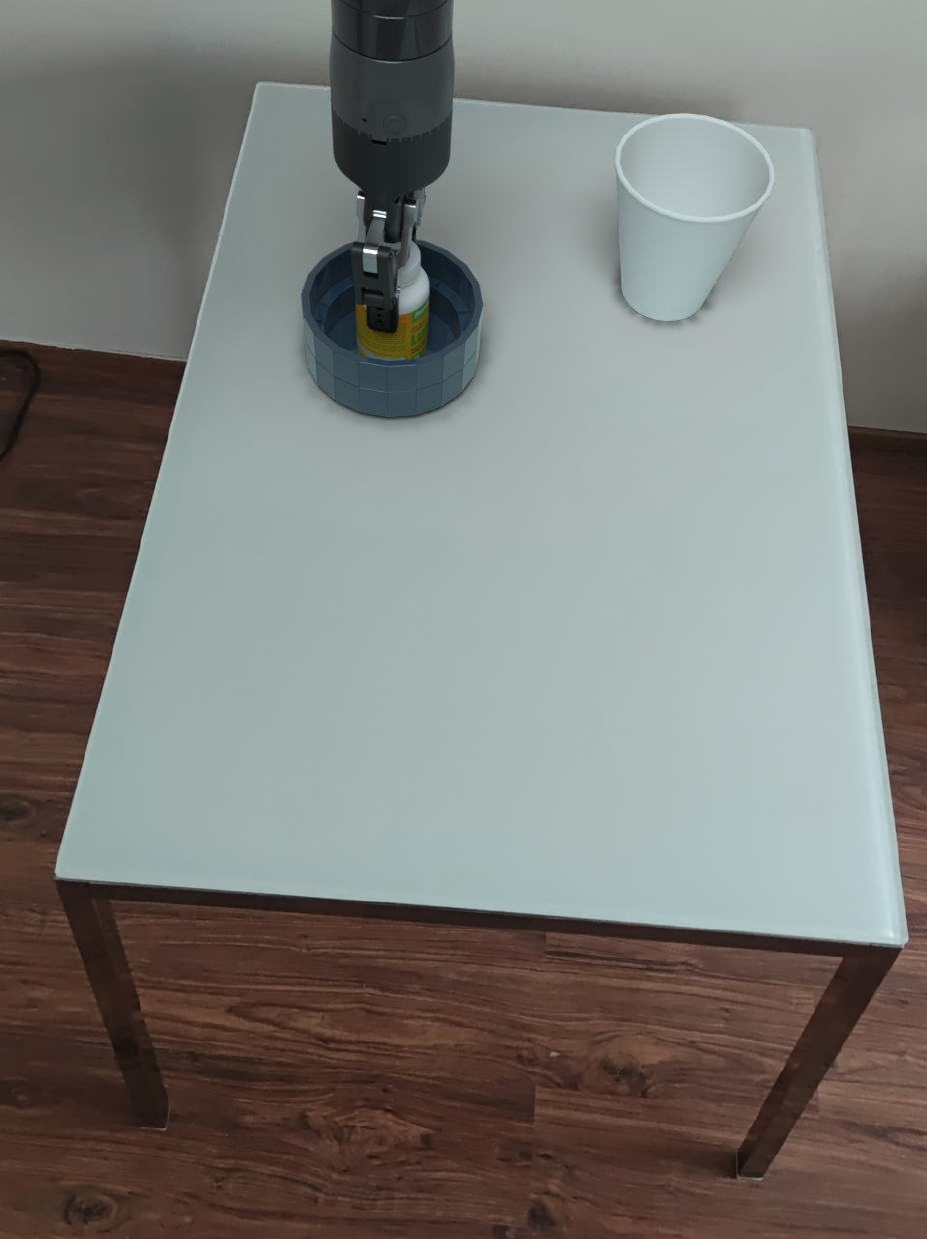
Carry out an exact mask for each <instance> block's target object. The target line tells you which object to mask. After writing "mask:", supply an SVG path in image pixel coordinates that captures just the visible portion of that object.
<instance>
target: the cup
mask: <svg viewBox="0 0 927 1239" xmlns="http://www.w3.org/2000/svg"><path fill="white" fill-rule="evenodd" d="M613 162H614V164H613V167H614V170H615V181H616V196H617V197H616V198H617V200H616V201H617V221H618V242H619V244H618V245H619V262H620V285H621V286H620V287H621V292H622V296H623V298H624V300H625V301H626V303H627V305H629V307H630V308H632V309H633V310H634V311H635V312H636V313H639V314H640V315H642V316H644V317H646V318H649V319H652V320H655V321H661V322H662V321H663V322H676V321H680V320H681V321H682V320H685V319H687V318H689V317H691V316H693V315H694V314H696V313H698V311H699V310H700V308H701V307H702V306H703V304H704V302H705V301H706V300H707V298H708V296H709V294H710V293H711V291H712V290H713V288H714V287H715V284H716V283H717V281H718V279H719V278H720V276H721V275H722V273H723V272H724V270H725V268H726V266H727V265H728V263H729V262H730V260H731V258H732V257H733V256H734V254H735V252H736V250H737V249H738V247H739V245H740V244H741V242H742V240H743V238H744V237H745V235H746V234H747V232H748V231H749V229H750V227H751V225H752V224H753V222H754V221H755V219H756V217H757V216H758V214H759V212H760V211H761V208H762V207H763V206H764V204H765V202H767V200H769V198H770V197H771V194H772V192H773V189H774V187H775V185H776V169H775V165H774V163H773V161H772V157H771V156H770V154H769V153H768V151H767V150H766V148H765V147H764V146H763V145H762V144H761V142H760V141H759V140H757V139H756V138H755V137H754V136H753V135H751V134H750V133H749V132H747V131H746V130H744V129H743V128H741V127H739V126H737V125H735V124H732V123H731V122H728V121H726V120H723V119H719V118H716V117H713V116H709V115H705V114H697V113H688V112H685V113H684V112H683V113H682V112H681V113H665V114H662V115H658V116H653V117H650V118H647V119H646V120H643V121H642V122H639V123H638V124H635V125H633V126H632V127H631V128H630V129H628V131H627V132H626V133H624V134H623V135H622V136H621V138H620V140H619V142H618V144H617V146H616V148H615V149H614V161H613Z"/></svg>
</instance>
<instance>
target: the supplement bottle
mask: <svg viewBox="0 0 927 1239" xmlns="http://www.w3.org/2000/svg"><path fill="white" fill-rule="evenodd" d="M384 246H387V247H392V249H395V250H399V249H400V248H401V242H398V243H395V244H390V243H384ZM420 265H421V255H420V250H419V248H418V246H417V245H416V244H415V243H414V242H413V241H411V250H410V258H409V260H408V262H407V264H406V265H405V266H404V267H403V268H401V279H400V286H401V292H400V294H399V324H398V327H397V331H396V332H394V333H387V332H381V331H376V330H371V329H370V328H368V326H367V315H366V305H359V304H356V335H357V351H358V355H360V356H362V357H368V358H374V359H380V360H385V361H394V360H410V359H417V358H420V357H423V356H426V352H427V340H428V318H429V290H430V289H429V279H428V276H427V274H426V272H425V271H424V269H423V268H422V267H421V266H420Z"/></svg>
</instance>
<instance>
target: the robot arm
mask: <svg viewBox="0 0 927 1239" xmlns="http://www.w3.org/2000/svg"><path fill="white" fill-rule="evenodd" d="M454 1H455V0H330V7H331V8H330V10H331V12H330V13H331V38H330V45H329V59H328V60H329V64H328V65H329V85H330V87H329V88H330V108H331V109H330V110H331V131H332V152H333V157H334V158H333V159H334V161H335V164H336V166H337V168H338V169H339V171H340V172H341V173H342V174H343V176H344V177H346V178H347V179H348V180H349V181H350V182H352V183H353V184H354V185H355V186H357V187H358V188H359V189H358V192H357V196H356V208H355V215H356V217H357V219H358V235H357V240H353V241H352V242H353V245H352V246H351V248H350V254H351V262H352V271H353V280H354V289H355V299H356V304H359V305H366V315H367V326H368V328H370V329H371V330H376V331H381V332H387V333H394V332H396V331H397V327H398V324H399V294H400V292H401V286H400V279H401V268H403V267H404V266H405V265H406V264H407V262H408V260H409V258H410V250H411V241H413V242H414V243H415V244H416V239H417V232H418V230H419V227H420V226H421V224H422V219H421V218H422V217H423V213H424V207H425V203H426V201H427V194H426V188H427V187H428V186H430V185H432V184H433V183H435V182H436V181H437V180H439V178H440V177H442V175H443V174H444V173H445V171H446V170H447V168H448V166H449V164H450V160H451V152H452V151H451V150H452V133H453V132H452V131H453V126H452V125H453V111H454V93H455V92H454V90H455V71H456V66H455V65H456V60H455V49H454V39H453V38H454V37H453V36H454V35H453V32H454V31H453V30H454V28H453V26H454V24H453V23H454V9H455V8H454V6H455V2H454ZM357 241H358V242H357ZM398 242H401V248H400V249H399V250H395V249H392V247H387V246H384V243H390V244H395V243H398Z"/></svg>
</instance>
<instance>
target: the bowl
mask: <svg viewBox="0 0 927 1239" xmlns="http://www.w3.org/2000/svg"><path fill="white" fill-rule="evenodd" d="M356 241H357V242H358V240H356ZM353 242H354V241H352V242H348V243H345V244H343V245H341V246H340V247H338V248H336V249H335V250H333V251H332V252H331V251H330V253H328V254H326V255H324V256H323V257H322V258H321V259H320V260H319V261H318V263H316V265H314V267H312V269H311V270H310V271H309V272H308V274H307V276H306V279H305V282H304V285H303V287H302V290H301V293H300V298H301V311H302V323H303V334H304V345H305V346H304V347H305V357H306V366H307V368H308V370H309V372H310V374H311V376H312V378H313V379H314V381H315V384H316V385H318V387H319V388H320V389H322V390H323V391H324V392H325V393H326V394H327V395H329V397H330V398H332V399H333V400H334V401H336V402H337V403H339V404H341V405H344V406H346V407H348V408H350V409H351V410H355V411H357V412H359V413H360V414H361V413H363V414H366V415H367V414H368V415H373V416H379V417H384V418H385V417H386V418H392V417H393V418H394V417H407V416H408V417H409V416H415V415H416V416H418V415H420V414H423V413H426V412H429V411H433V410H436V409H438V408H441V407H443V406H445V405H446V404H448V402H450V401H451V400H453V399H454V398H456V397H458V396H459V395H460V394H461V393H462V392H463V391H464V390H465V388H466V387H467V385H468V384H469V383H470V381H471V380H472V379H473V377H474V376H475V374H476V370H477V366H478V361H479V357H480V347H481V336H482V324H483V313H484V312H483V311H484V300H483V295H482V290H481V289H482V288H481V285H480V282H479V281H478V279H477V278H476V277H475V275H474V274H473V272H472V271H471V269H470V268H469V266H468V265H467V264H466V263H465V262H464V261H462V260H461V259H460V258H458V257H457V256H456V255H455V254H453V253H452V252H451V251H449V250H448V249H445V248H444V247H441V246H438V245H436V244H434V243H431V242H429V241H427V240H422V239H419V238H418V239H417V238H416V245H417V246H418V248H419V250H420V255H421V265H420V266H421V267H422V268H423V269H424V271H425V272H426V274H427V276H428V279H429V289H430V290H429V318H428V340H427V352H426V356H423V357H420V358H417V359H410V360H394V361H385V360H380V359H374V358H368V357H362V356H360V355H358V351H357V335H356V299H355V289H354V280H353V271H352V262H351V254H350V248H351V246H352V245H353Z"/></svg>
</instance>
